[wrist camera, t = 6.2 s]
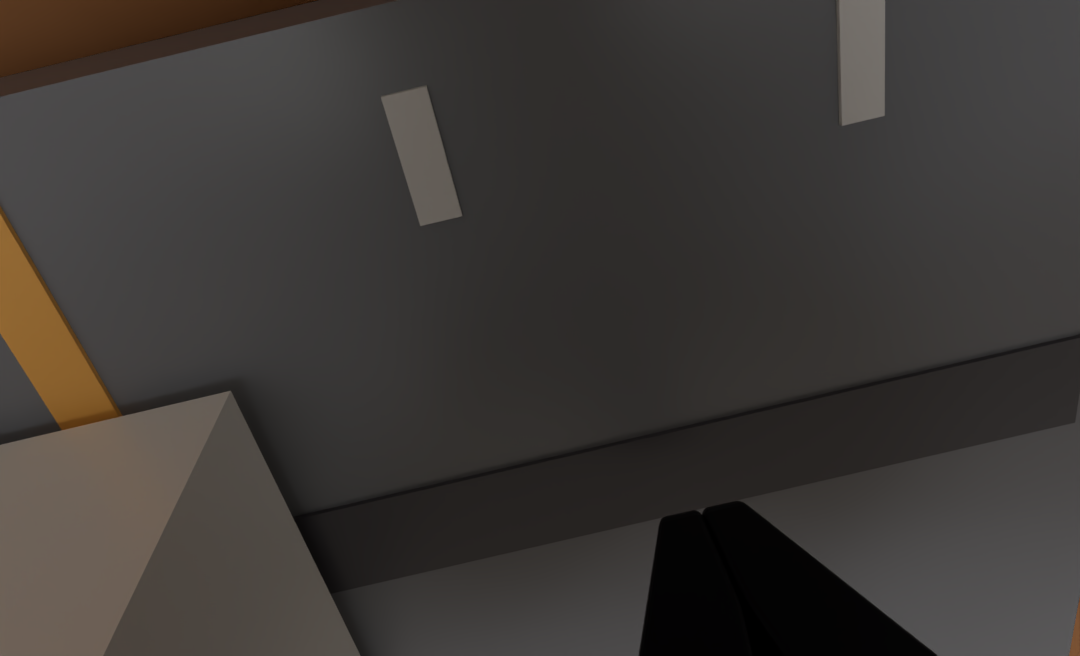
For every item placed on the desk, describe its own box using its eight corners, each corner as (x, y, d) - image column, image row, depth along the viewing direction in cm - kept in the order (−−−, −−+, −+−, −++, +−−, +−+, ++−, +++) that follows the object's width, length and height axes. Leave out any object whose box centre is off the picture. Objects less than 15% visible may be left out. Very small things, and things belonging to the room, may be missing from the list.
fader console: (994, -164, 9) (1230, -202, 6) (950, 533, 14) (1068, 678, 11) (-499, 198, 9) (-902, 316, 6) (2, 750, 14) (-103, 942, 12)
